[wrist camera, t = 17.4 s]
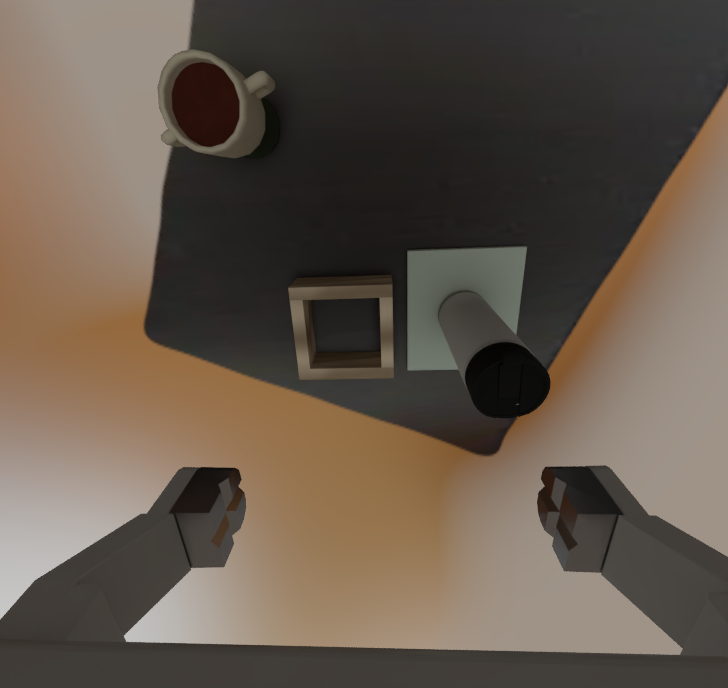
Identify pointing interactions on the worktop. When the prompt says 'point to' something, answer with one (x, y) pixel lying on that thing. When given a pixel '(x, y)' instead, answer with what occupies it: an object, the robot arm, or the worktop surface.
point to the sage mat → (451, 274)
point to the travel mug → (491, 358)
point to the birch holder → (341, 362)
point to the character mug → (216, 107)
